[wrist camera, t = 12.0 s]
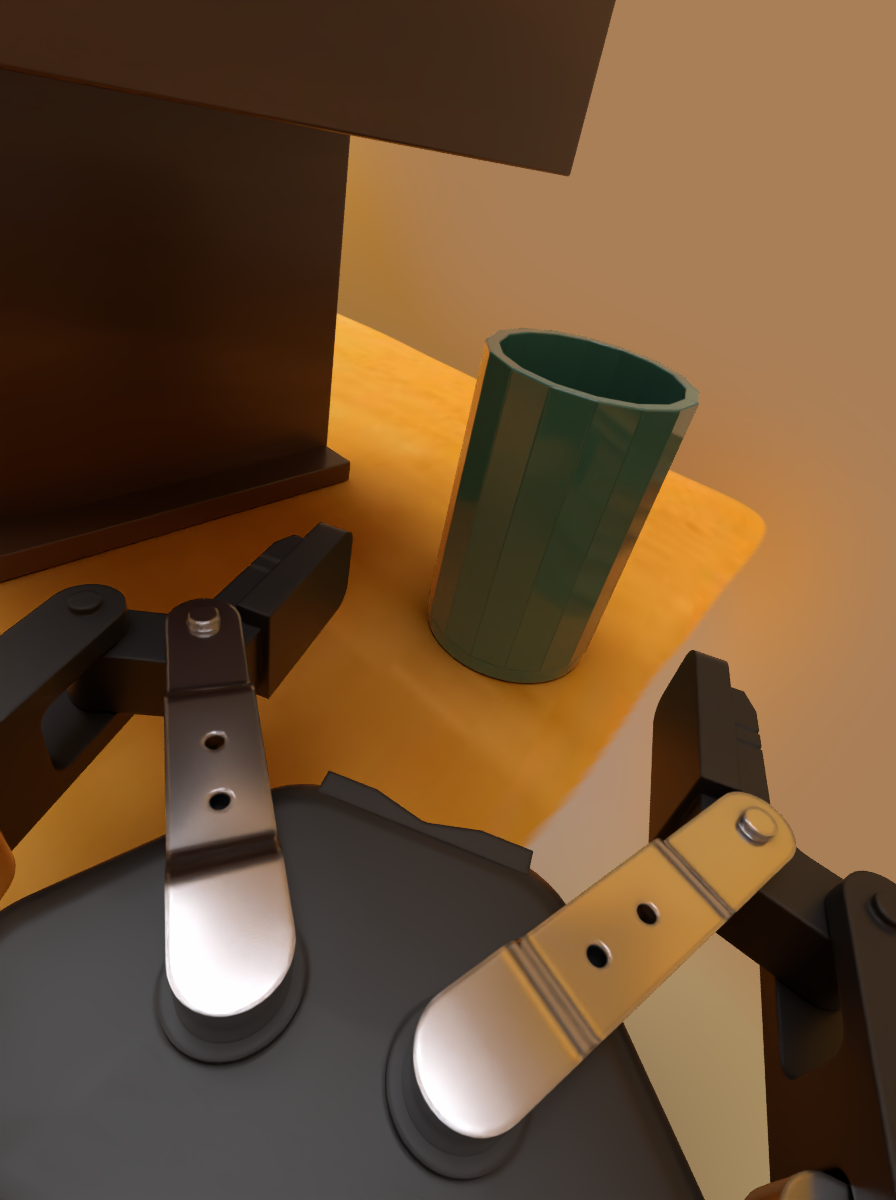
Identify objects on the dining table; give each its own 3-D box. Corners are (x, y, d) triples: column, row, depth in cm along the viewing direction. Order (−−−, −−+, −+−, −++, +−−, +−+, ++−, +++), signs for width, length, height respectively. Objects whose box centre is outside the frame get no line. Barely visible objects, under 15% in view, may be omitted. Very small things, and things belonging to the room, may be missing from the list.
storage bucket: (393, 611, 23) (442, 335, 17) (494, 559, 27) (563, 322, 21) (521, 711, 20) (636, 426, 14) (612, 637, 24) (731, 391, 18)
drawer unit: (-70, 547, 21) (-588, -766, 8) (336, 447, 32) (389, -153, 20) (77, 754, 16) (-648, -1743, 3) (493, 550, 28) (697, -160, 15)
